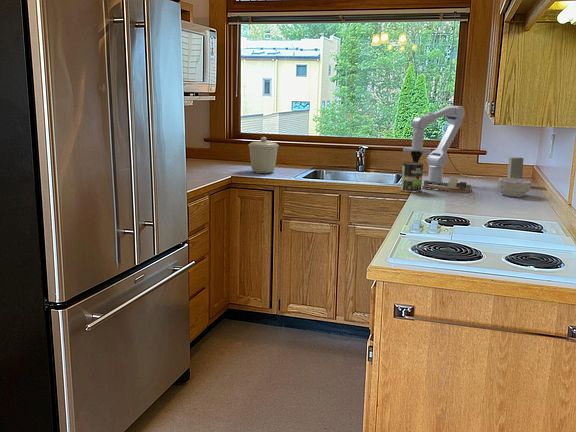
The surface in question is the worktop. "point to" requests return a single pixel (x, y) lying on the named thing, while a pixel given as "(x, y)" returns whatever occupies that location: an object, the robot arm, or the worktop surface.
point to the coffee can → (411, 176)
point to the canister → (263, 155)
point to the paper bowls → (514, 186)
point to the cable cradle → (461, 188)
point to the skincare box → (515, 167)
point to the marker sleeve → (453, 182)
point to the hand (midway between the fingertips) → (415, 165)
